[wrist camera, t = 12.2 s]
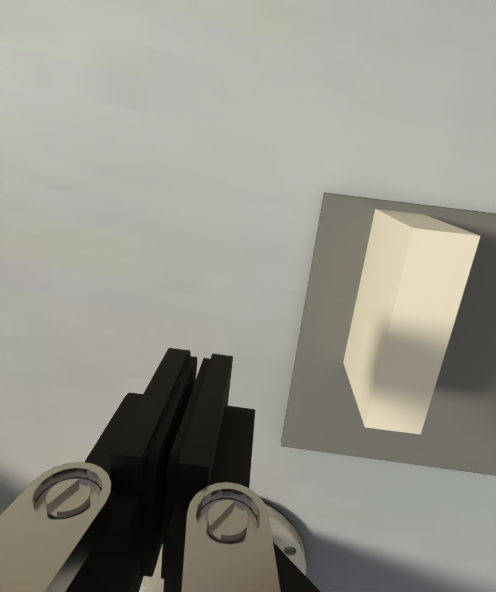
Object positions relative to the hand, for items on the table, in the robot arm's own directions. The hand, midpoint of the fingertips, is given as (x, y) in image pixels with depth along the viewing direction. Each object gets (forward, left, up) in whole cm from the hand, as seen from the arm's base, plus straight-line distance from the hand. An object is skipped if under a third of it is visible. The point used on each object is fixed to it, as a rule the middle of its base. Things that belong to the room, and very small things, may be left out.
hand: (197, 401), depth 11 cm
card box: (0, -8, -12) cm, 15 cm away
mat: (-3, -11, -13) cm, 17 cm away
